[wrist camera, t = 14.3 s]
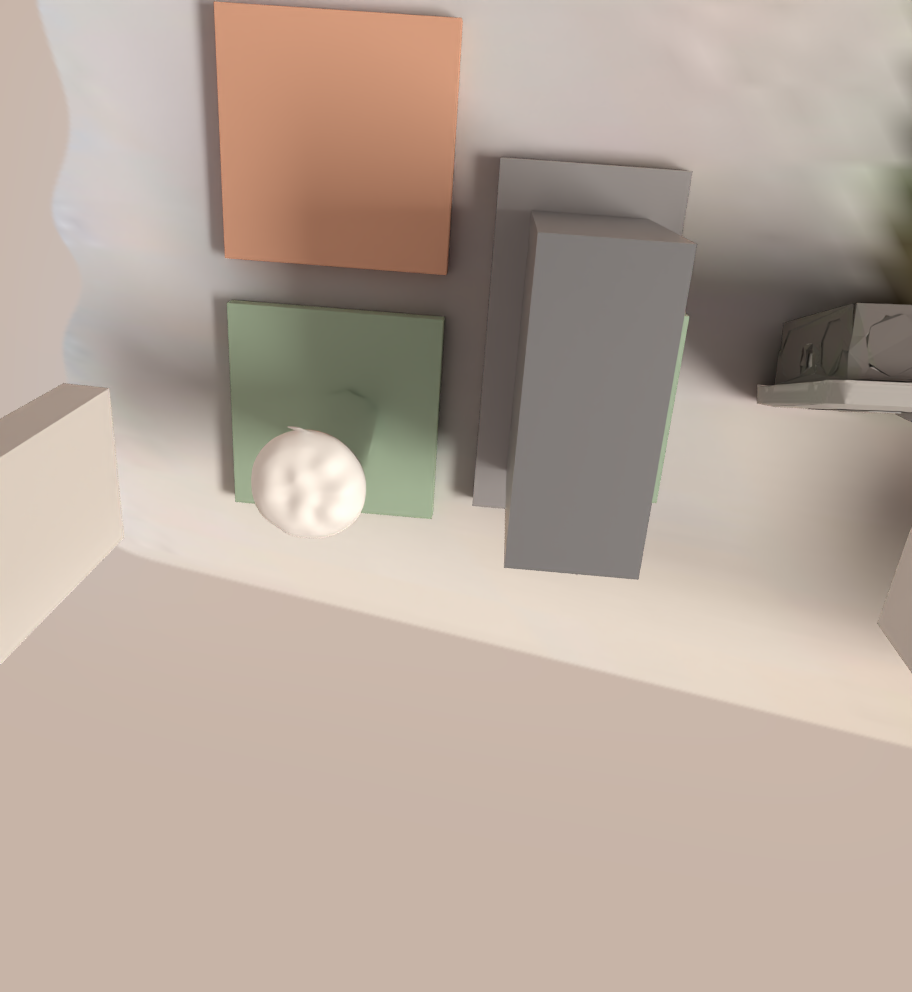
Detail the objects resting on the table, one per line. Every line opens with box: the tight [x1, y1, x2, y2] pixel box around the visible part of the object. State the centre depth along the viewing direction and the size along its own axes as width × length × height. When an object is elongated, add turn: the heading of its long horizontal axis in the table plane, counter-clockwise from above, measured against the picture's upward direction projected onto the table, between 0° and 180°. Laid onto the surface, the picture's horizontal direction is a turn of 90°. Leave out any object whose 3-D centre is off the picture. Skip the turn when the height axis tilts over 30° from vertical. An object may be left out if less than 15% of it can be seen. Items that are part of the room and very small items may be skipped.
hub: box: [472, 157, 697, 579], centre depth 33 cm, size 16×8×11 cm, turn 176°
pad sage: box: [227, 300, 445, 519], centre depth 40 cm, size 10×10×1 cm
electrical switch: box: [757, 303, 912, 422], centre depth 33 cm, size 9×5×9 cm, turn 88°
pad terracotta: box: [214, 2, 463, 275], centre depth 35 cm, size 10×10×1 cm
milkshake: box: [251, 391, 379, 538], centre depth 35 cm, size 4×5×10 cm
